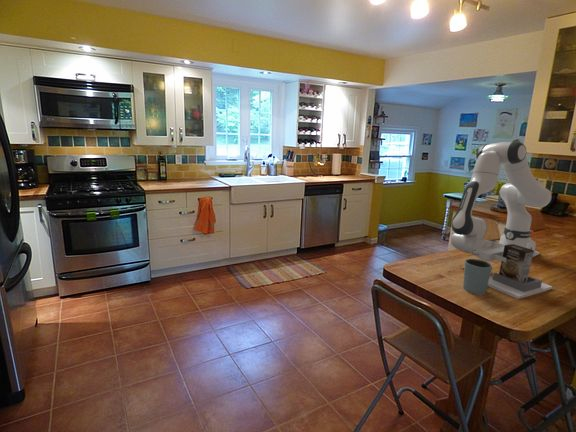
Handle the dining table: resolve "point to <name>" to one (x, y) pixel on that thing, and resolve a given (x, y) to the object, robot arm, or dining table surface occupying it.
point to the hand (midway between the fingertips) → (513, 258)
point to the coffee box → (516, 262)
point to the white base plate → (517, 286)
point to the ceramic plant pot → (476, 276)
